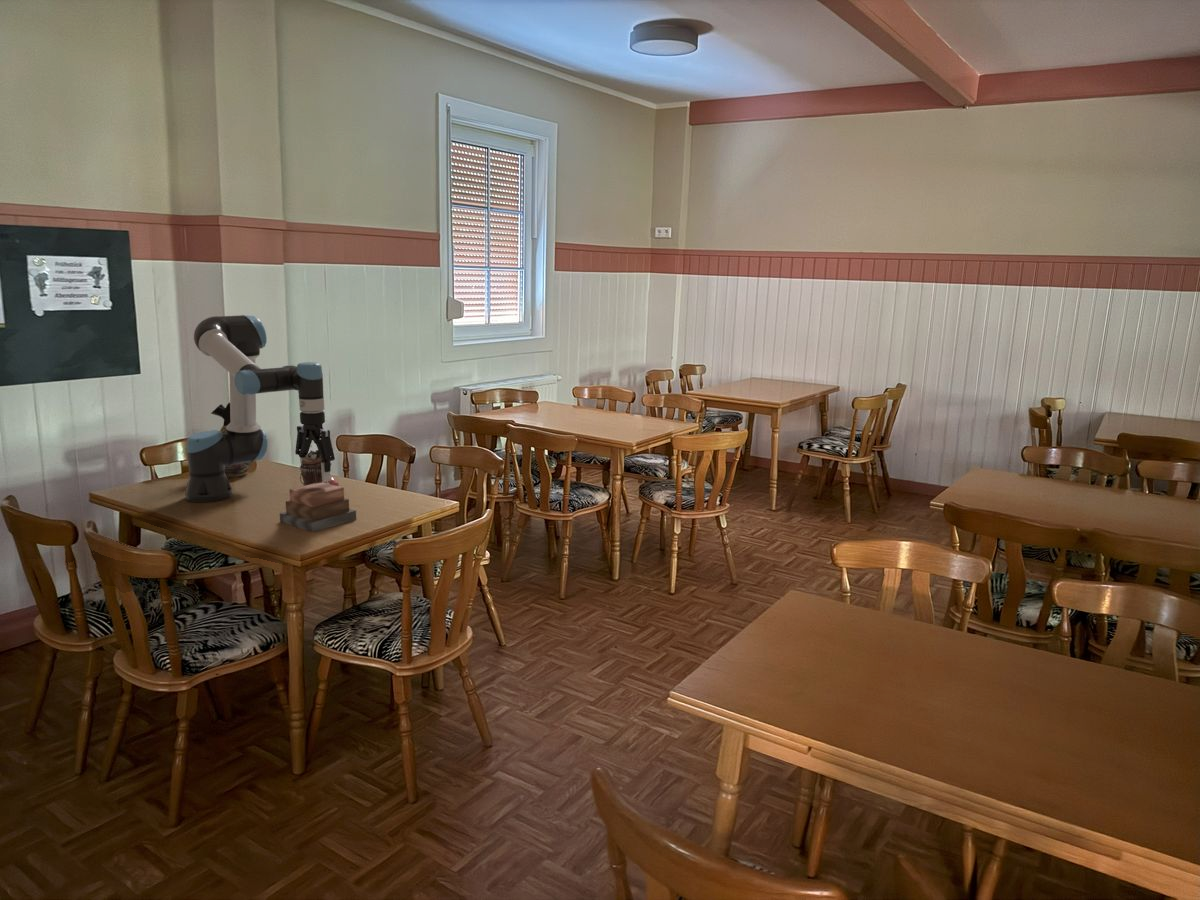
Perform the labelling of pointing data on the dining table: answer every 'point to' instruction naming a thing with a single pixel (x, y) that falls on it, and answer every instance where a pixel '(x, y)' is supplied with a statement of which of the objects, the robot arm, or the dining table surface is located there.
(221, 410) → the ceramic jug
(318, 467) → the cupcake
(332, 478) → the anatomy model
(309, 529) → the stepped pyramid block
